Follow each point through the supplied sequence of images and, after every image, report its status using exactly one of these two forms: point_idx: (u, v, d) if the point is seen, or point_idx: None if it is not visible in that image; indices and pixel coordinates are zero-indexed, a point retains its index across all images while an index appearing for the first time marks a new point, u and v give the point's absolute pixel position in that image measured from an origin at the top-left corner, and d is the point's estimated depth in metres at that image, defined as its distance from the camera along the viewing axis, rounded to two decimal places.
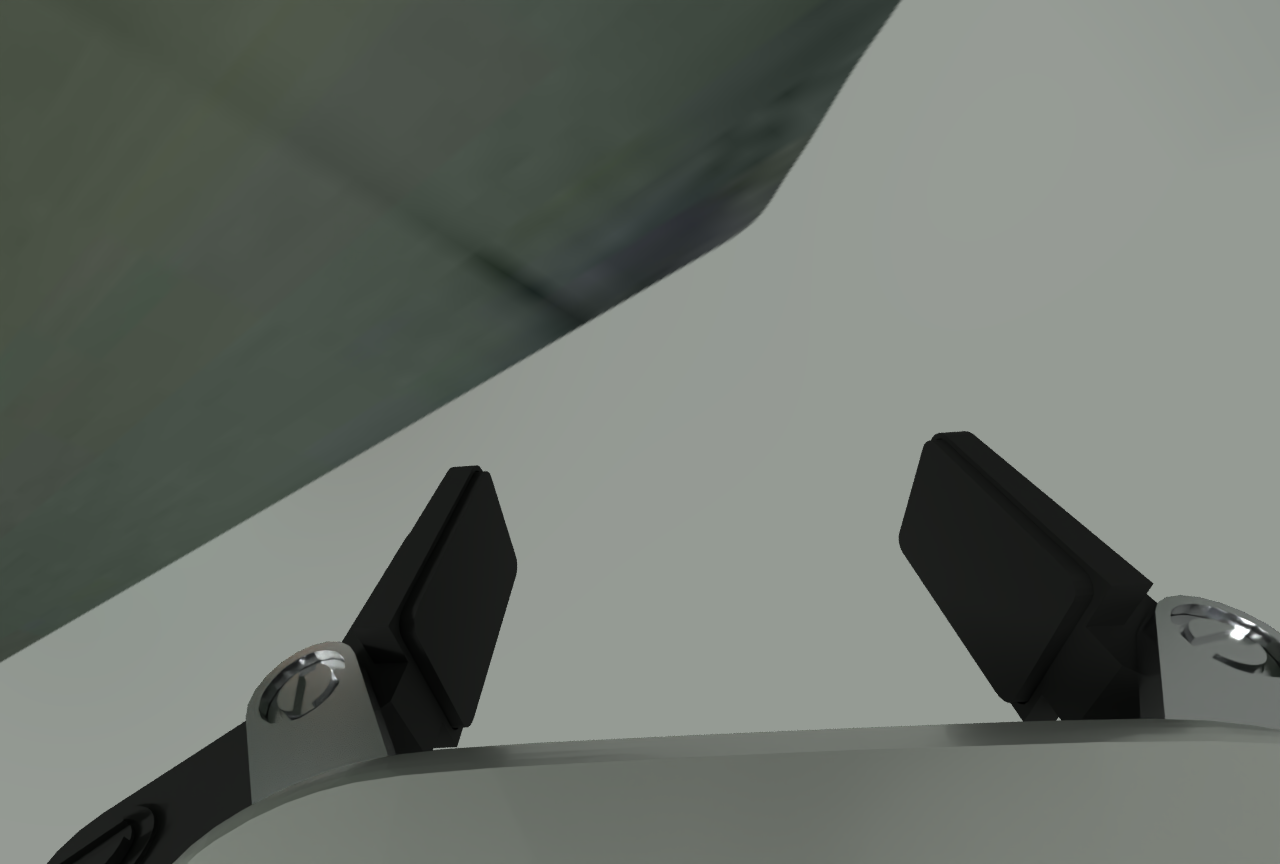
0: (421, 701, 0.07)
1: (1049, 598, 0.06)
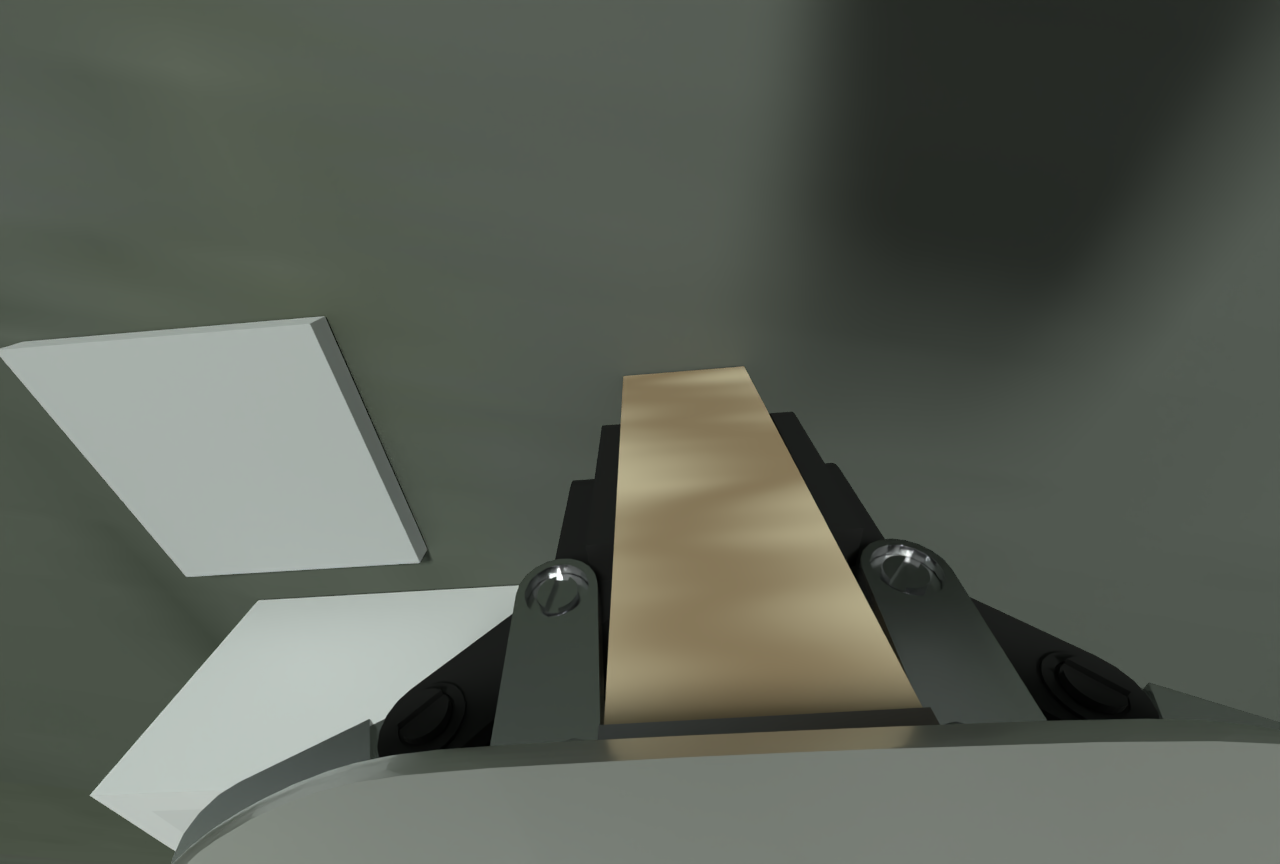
0: None
1: None
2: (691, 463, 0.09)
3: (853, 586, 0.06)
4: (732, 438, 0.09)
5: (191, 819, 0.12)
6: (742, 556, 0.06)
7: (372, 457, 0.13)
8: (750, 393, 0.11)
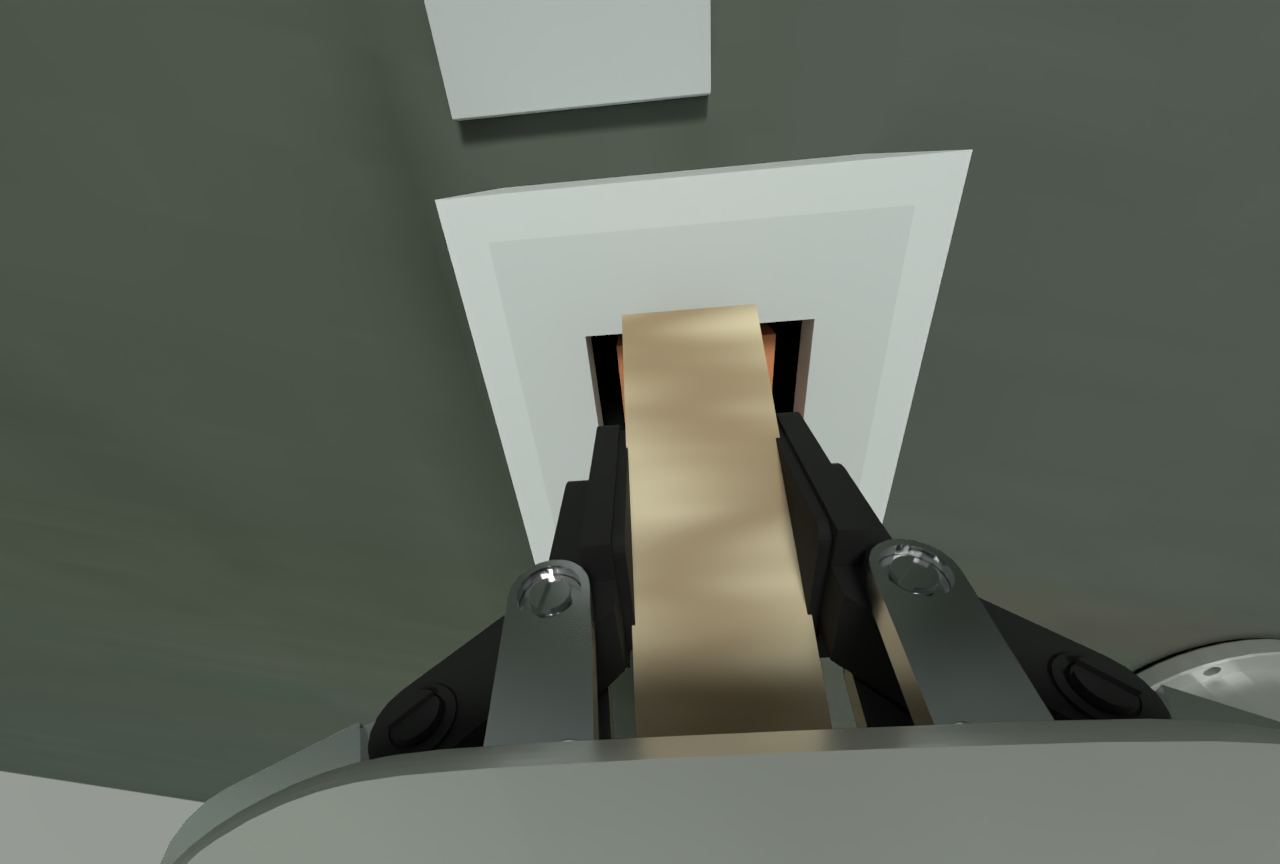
0: (620, 617, 0.08)
1: (811, 546, 0.08)
2: (694, 482, 0.09)
3: (812, 639, 0.08)
4: (734, 442, 0.10)
5: (524, 264, 0.11)
6: (733, 605, 0.08)
7: None
8: (758, 362, 0.10)
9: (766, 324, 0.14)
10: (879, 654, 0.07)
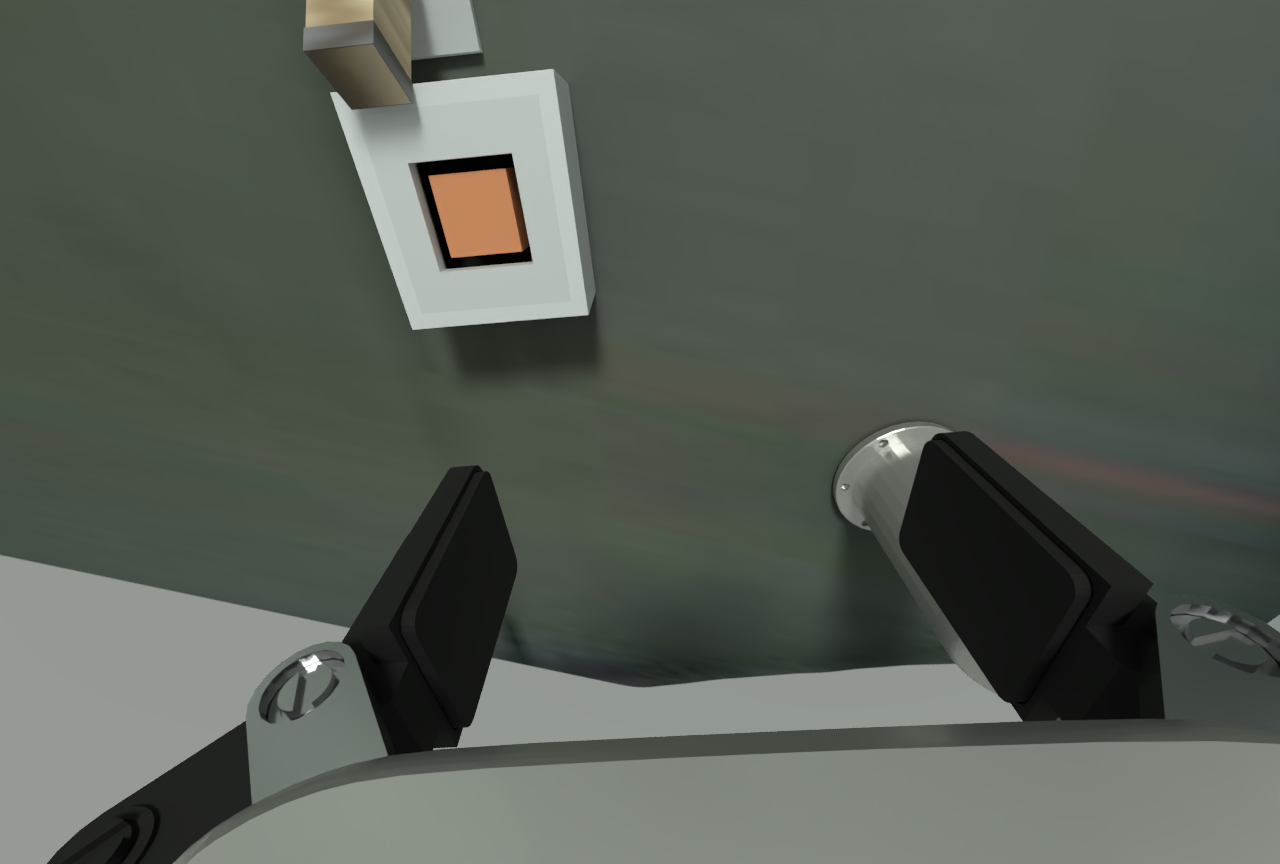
0: (421, 701, 0.07)
1: (1049, 598, 0.06)
2: None
3: None
4: None
5: (373, 124, 0.25)
6: None
7: None
8: None
9: (508, 168, 0.28)
10: None
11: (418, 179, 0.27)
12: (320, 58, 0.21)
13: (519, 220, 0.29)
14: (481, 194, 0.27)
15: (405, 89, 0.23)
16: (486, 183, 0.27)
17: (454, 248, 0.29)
